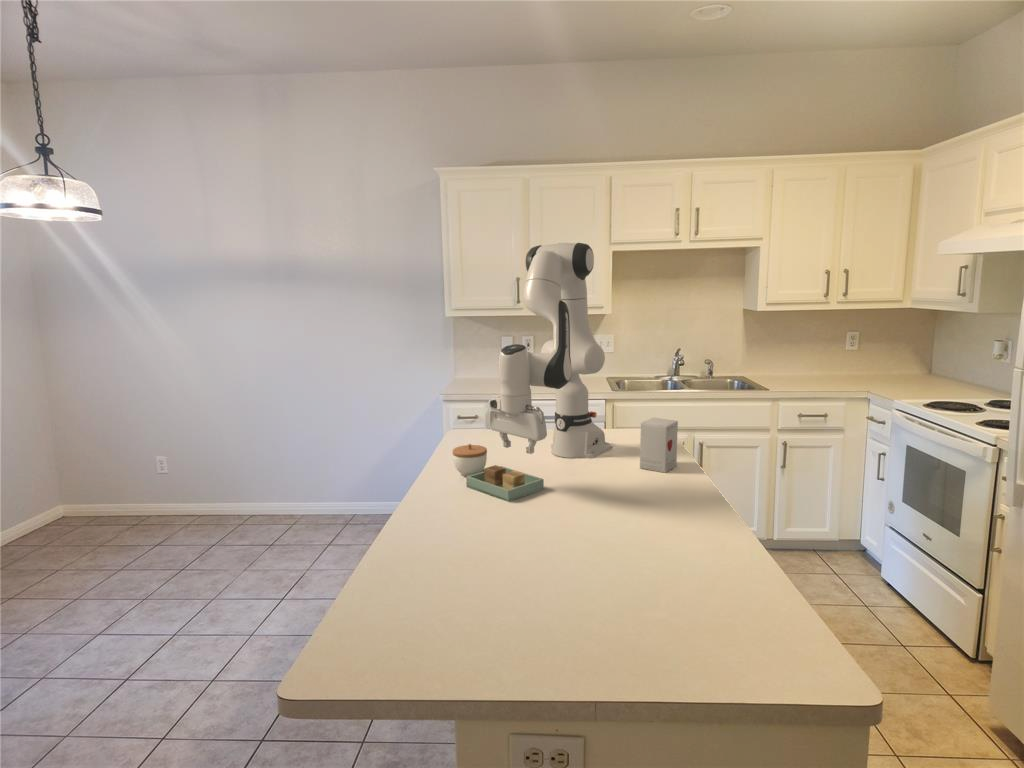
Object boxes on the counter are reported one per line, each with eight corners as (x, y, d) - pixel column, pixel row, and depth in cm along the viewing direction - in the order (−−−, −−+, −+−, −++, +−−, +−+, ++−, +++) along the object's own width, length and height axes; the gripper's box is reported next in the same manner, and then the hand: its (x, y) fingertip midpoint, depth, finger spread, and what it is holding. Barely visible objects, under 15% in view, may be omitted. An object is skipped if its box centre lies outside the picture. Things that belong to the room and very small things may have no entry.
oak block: (514, 485, 189) (513, 470, 189) (525, 489, 186) (524, 474, 185) (502, 489, 186) (502, 474, 186) (513, 493, 183) (513, 477, 182)
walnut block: (495, 479, 195) (495, 465, 194) (506, 482, 192) (505, 468, 191) (484, 483, 192) (484, 468, 191) (494, 486, 189) (494, 471, 188)
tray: (501, 475, 200) (501, 466, 200) (543, 489, 188) (543, 479, 187) (466, 486, 191) (466, 476, 190) (508, 501, 178) (508, 491, 178)
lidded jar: (489, 468, 208) (489, 440, 207) (484, 479, 198) (484, 449, 196) (456, 467, 209) (455, 439, 208) (450, 478, 199) (449, 449, 197)
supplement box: (665, 473, 200) (666, 426, 197) (638, 468, 205) (639, 422, 202) (677, 466, 207) (678, 420, 204) (651, 461, 212) (652, 416, 209)
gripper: (550, 405, 177) (552, 454, 180) (499, 396, 192) (502, 441, 195) (534, 410, 173) (537, 459, 176) (484, 400, 188) (486, 446, 191)
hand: (518, 450), depth 186 cm, fingers open, 8 cm apart
